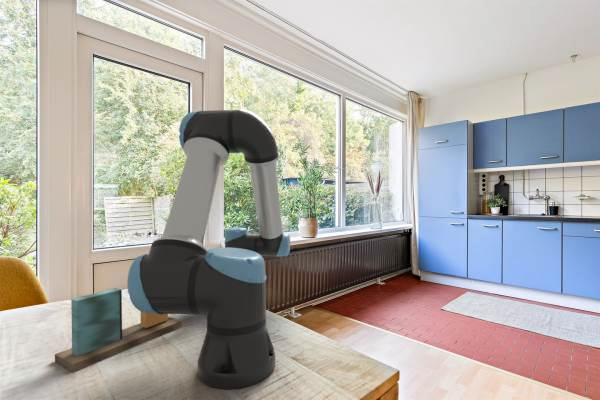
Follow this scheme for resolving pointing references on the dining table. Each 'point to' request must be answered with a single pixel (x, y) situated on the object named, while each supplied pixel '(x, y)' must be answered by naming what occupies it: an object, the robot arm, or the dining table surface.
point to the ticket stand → (104, 330)
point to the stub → (152, 319)
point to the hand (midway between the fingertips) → (147, 301)
